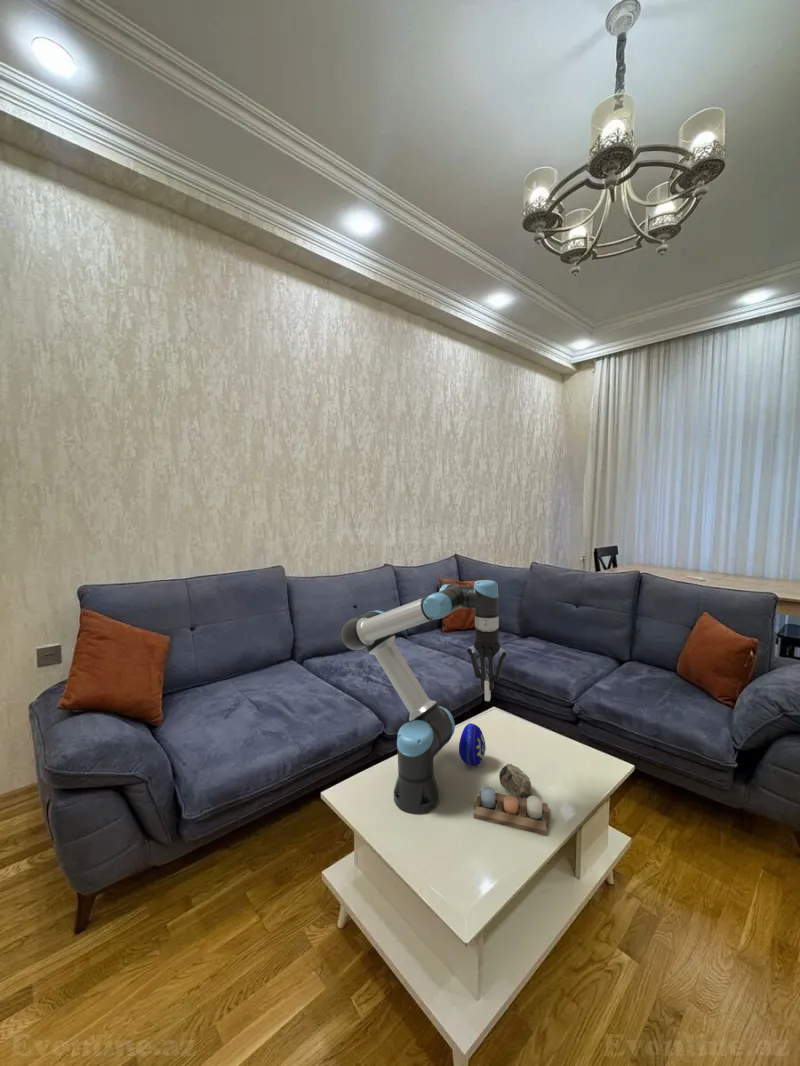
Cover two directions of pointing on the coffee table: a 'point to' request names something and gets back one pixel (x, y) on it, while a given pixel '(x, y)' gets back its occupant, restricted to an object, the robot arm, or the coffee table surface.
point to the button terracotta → (511, 805)
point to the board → (509, 819)
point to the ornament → (472, 745)
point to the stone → (515, 781)
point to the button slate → (488, 797)
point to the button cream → (534, 807)
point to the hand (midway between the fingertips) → (487, 699)
